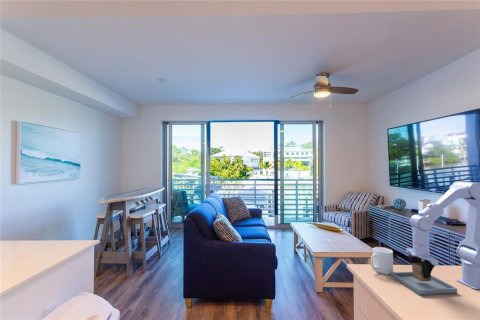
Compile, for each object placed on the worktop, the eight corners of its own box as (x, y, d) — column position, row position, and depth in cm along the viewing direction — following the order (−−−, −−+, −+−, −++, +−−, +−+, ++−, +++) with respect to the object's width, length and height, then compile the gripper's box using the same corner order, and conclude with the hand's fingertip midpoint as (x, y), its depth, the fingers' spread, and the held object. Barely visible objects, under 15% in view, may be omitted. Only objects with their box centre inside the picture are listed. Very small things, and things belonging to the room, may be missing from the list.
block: (422, 276, 107) (421, 262, 107) (431, 280, 102) (430, 266, 102) (412, 276, 106) (412, 262, 107) (421, 281, 102) (420, 267, 102)
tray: (423, 275, 113) (423, 271, 113) (457, 293, 97) (456, 288, 97) (391, 277, 112) (391, 272, 112) (419, 295, 96) (419, 290, 96)
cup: (397, 273, 116) (396, 251, 116) (379, 277, 111) (378, 255, 112) (381, 266, 124) (381, 246, 124) (363, 270, 119) (363, 249, 119)
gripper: (399, 238, 112) (400, 268, 111) (426, 249, 97) (427, 283, 97) (414, 238, 112) (414, 267, 112) (442, 248, 98) (443, 283, 97)
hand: (421, 275), depth 104 cm, fingers closed on block, 4 cm apart
